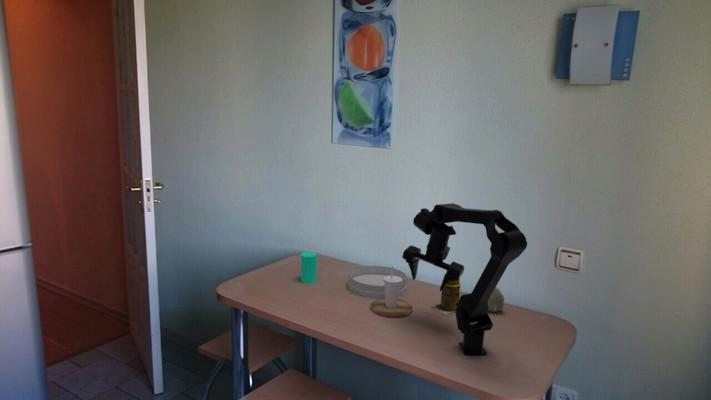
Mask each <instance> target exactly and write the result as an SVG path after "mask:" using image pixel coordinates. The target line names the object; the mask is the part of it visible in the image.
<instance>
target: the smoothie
mask: <svg viewBox="0 0 711 400" xmlns="http://www.w3.org/2000/svg"><path fill="white" fill-rule="evenodd" d="M390 268H391V276H386V277H384V280H383V281H384V285H385V300H386V307H388V308H396V307H397V303H398V299H399V297H400V296H399V293H400V288H401V284H402V278H400V277H398V276H393V268H394V266H393V265H392V266H391V267H390Z"/></svg>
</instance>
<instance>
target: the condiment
mask: <svg viewBox="0 0 711 400" xmlns="http://www.w3.org/2000/svg"><path fill="white" fill-rule="evenodd" d="M445 275H446V273H444V275H443V277H444V276H445ZM460 279H461V277H460V278H459V279H458V280H455V279H454V280H449V281H448V282H447V283H446V285H445V286H444V288H443V289H442V291H441V297H440V303H438V304H435V305H431V306H430V307H431V308H433V309H434V310H436V311H438V312H440V313H442V314H444V315H449V314H451V313H452V314H453V313H455V311H456V307H457V306H456V304H457V303H458V302H459V299H460V293H461V283H460V282H461V281H460Z"/></svg>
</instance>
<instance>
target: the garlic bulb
mask: <svg viewBox="0 0 711 400" xmlns="http://www.w3.org/2000/svg"><path fill="white" fill-rule="evenodd" d="M504 302H505V297H504V295H503V293H502V290H501V289H500V288H499V287H497V286H496V287H495V289H494V291H493V293H492V294H491V296H490V298H489V300H488V307H489V309H488V312H500V311H502V309H503V308H504Z"/></svg>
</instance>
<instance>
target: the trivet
mask: <svg viewBox="0 0 711 400" xmlns="http://www.w3.org/2000/svg"><path fill="white" fill-rule="evenodd" d="M370 310H371V312H372V313H374V314H375V315H378V316H380V317H385V318H389V319H390V318H391V319H394V318H395V319H397V318H398V319H399V318H405V317H408V316H410V315H411V314H412V313H413V306H412V304H410V303H409V302H408V301H406V300H404V299H399V298H398V303H397V307H396V308H388V307H386V300H385V298H376V299H375V300H373V301H372V302H371V303H370Z"/></svg>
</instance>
